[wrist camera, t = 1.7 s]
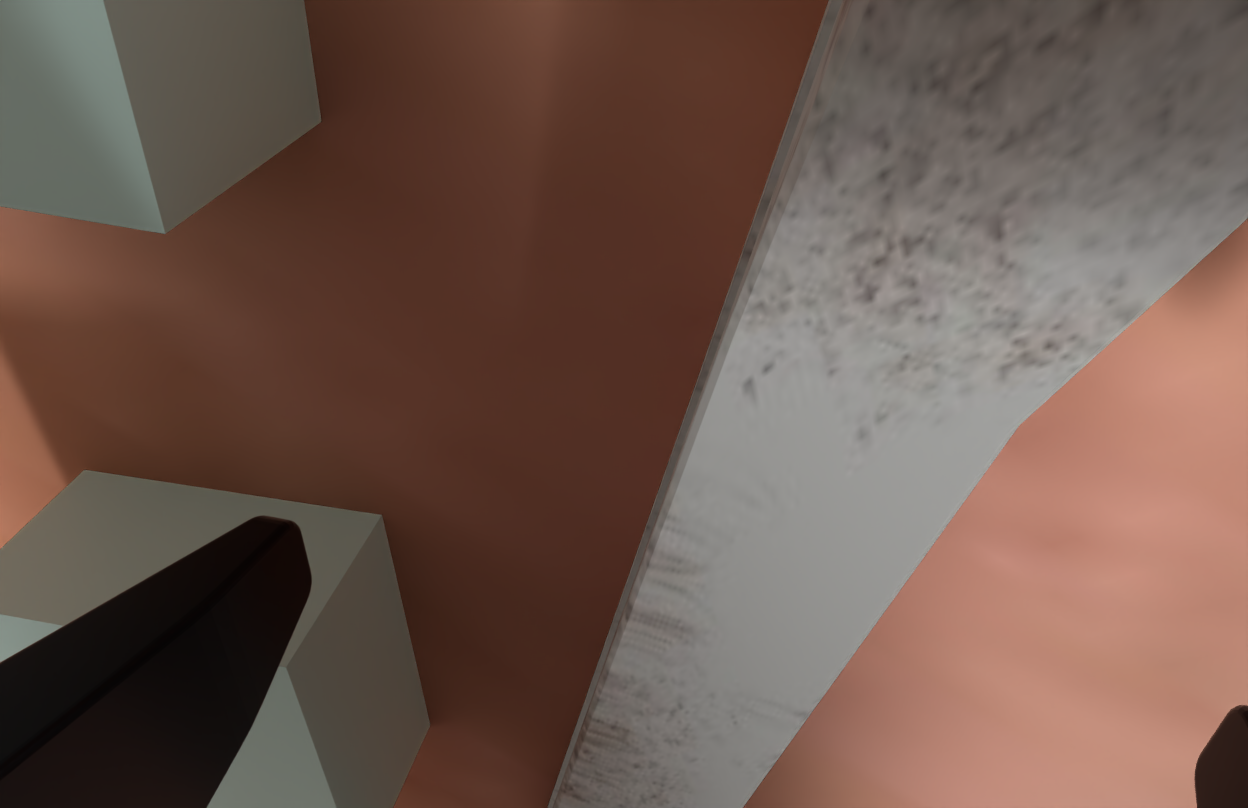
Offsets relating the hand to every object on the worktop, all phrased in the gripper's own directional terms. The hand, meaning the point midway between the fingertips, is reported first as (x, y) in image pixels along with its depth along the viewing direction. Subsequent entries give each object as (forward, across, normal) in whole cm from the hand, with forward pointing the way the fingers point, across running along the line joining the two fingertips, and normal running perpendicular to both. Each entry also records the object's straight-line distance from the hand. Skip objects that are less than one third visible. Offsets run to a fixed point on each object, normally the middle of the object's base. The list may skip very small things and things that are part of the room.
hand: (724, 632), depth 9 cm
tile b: (+3, +8, +5) cm, 10 cm away
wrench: (+3, 0, 0) cm, 3 cm away
